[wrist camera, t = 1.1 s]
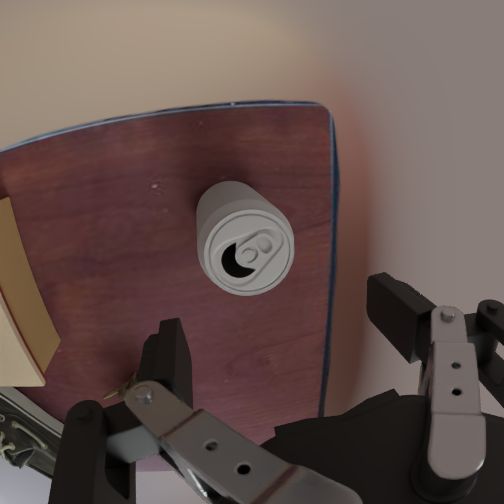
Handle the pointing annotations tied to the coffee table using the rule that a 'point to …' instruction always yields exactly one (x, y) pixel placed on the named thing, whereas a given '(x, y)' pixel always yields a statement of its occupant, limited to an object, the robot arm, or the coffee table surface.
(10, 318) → the lidded cardboard box
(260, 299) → the coffee table surface
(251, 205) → the beverage can
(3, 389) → the boat shoe
